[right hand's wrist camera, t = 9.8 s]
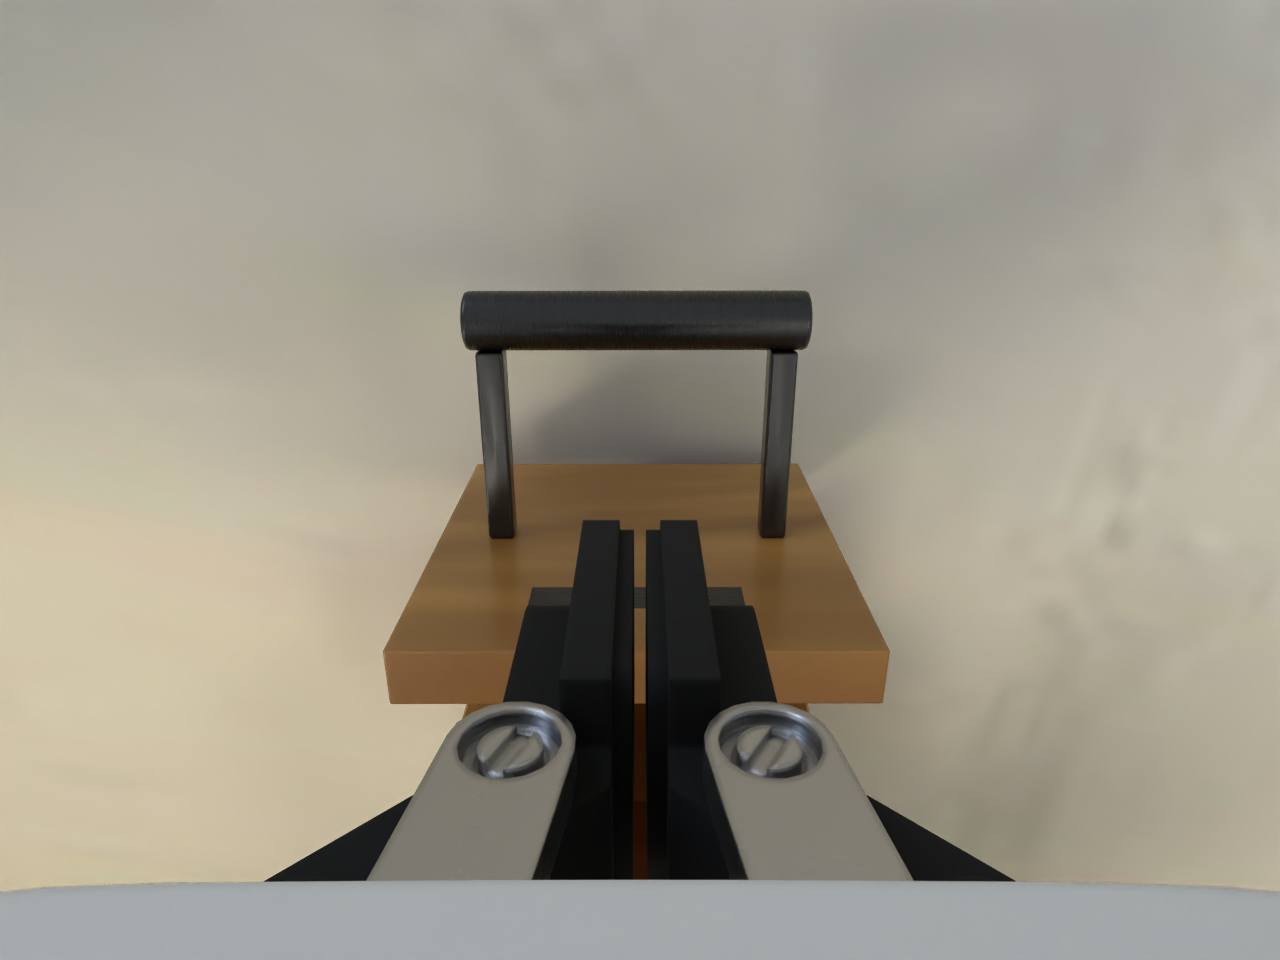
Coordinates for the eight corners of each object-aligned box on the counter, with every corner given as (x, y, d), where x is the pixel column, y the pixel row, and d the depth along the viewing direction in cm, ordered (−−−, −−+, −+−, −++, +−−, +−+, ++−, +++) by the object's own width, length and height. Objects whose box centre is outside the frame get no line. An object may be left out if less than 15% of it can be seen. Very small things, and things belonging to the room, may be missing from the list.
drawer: (461, 262, 22) (339, 343, 13) (813, 261, 22) (930, 342, 13) (503, 794, 29) (441, 1087, 20) (773, 793, 29) (834, 1087, 20)
